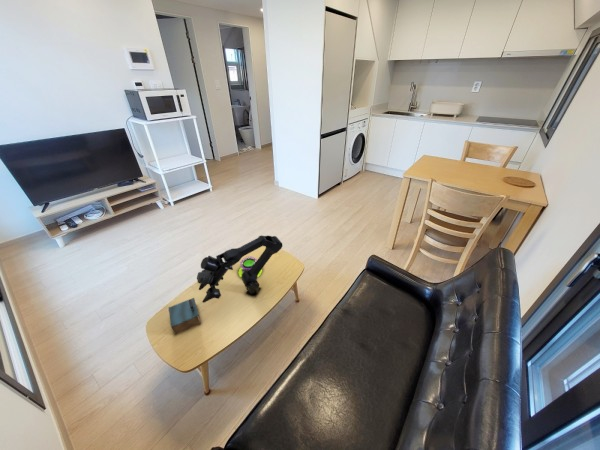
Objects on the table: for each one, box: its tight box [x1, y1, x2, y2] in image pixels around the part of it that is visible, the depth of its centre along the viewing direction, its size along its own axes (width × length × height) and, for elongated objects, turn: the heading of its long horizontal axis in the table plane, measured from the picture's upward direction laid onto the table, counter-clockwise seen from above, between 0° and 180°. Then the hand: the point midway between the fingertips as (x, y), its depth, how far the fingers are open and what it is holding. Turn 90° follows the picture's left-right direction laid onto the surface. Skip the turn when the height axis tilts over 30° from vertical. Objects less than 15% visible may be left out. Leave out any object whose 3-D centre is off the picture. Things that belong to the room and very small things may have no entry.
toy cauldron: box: [238, 255, 263, 278], centre depth 151 cm, size 15×15×11 cm
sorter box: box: [171, 315, 201, 335], centre depth 123 cm, size 12×12×6 cm
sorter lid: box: [168, 297, 200, 328], centre depth 120 cm, size 13×12×4 cm
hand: (201, 295), depth 122 cm, fingers open, 9 cm apart
